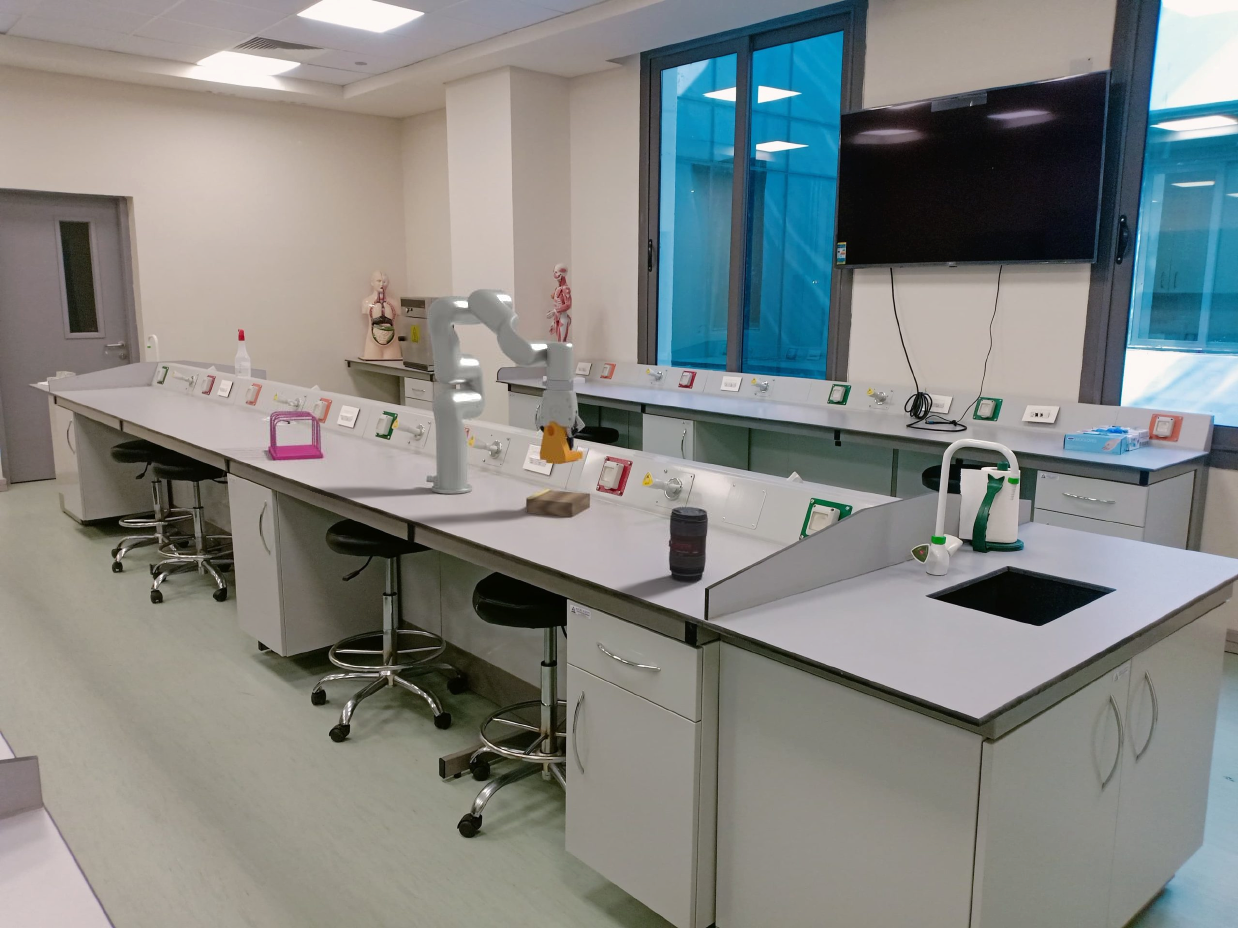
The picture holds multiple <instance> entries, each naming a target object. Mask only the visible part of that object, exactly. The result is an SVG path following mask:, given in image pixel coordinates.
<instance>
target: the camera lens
mask: <svg viewBox="0 0 1238 928" xmlns="http://www.w3.org/2000/svg"><path fill="white" fill-rule="evenodd" d="M669 517H670V519H669V535H670V538H669V540H668V547H669V553H668V565H669V571H670V572H671V576H670V577H671V578H672V579H673V580H675V581H679V582H687V583H688V582H689V583H691V582H698V581H701V580H702V579H703V575H704V574H703V573H704V572H705V566H706V563H707V562H706V561H707V560H706V558H707V557H706V556H707V554H706V553H707V552H706V550H707V549H706V548H707V536H708V525H709V524H708V522H709V518H708V512H707V510H705V509H702V508H699V507H693V506H680V507H678V506H677V507H674V508H671V513H670V516H669Z"/></svg>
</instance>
